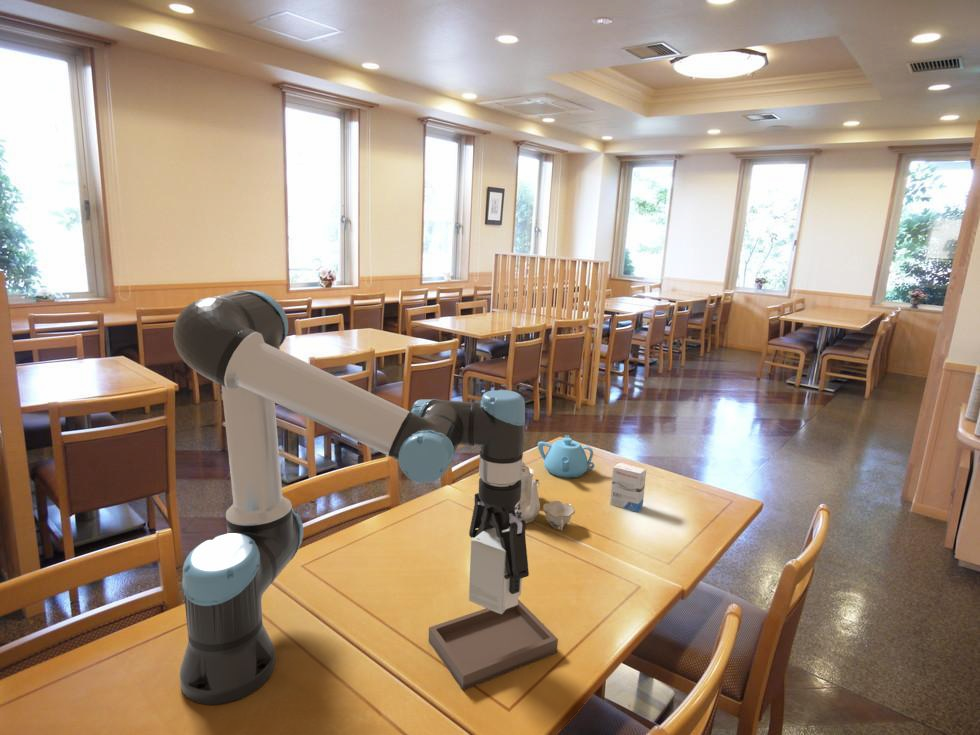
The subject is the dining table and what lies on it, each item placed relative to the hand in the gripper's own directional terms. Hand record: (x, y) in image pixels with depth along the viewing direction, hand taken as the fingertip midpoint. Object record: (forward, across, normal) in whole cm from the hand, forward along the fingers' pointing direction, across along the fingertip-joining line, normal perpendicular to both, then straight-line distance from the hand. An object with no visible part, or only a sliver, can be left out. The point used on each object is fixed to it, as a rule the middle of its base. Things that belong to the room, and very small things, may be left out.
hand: (495, 590), depth 109 cm
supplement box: (+2, 0, 0) cm, 2 cm away
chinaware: (+12, +41, -36) cm, 56 cm away
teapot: (+12, +61, -64) cm, 89 cm away
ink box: (+12, +33, -65) cm, 74 cm away
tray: (+12, 0, 0) cm, 12 cm away
